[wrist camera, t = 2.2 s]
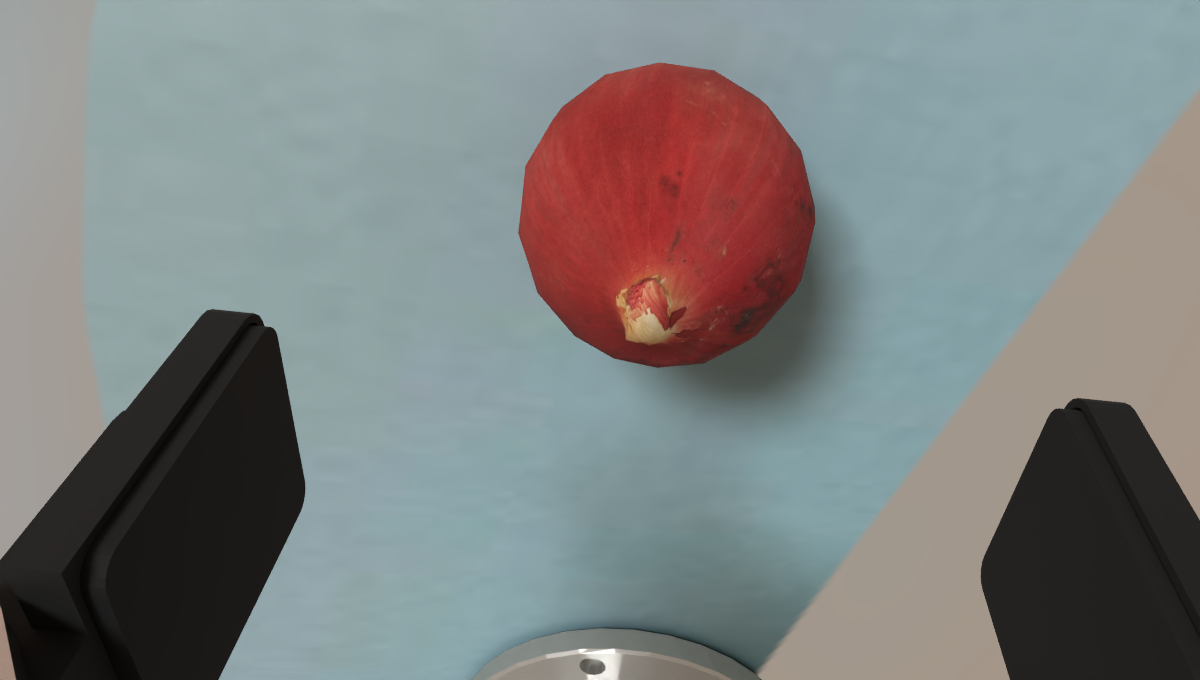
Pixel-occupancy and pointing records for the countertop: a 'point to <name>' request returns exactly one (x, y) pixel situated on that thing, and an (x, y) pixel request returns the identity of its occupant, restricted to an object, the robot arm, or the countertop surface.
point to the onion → (666, 215)
